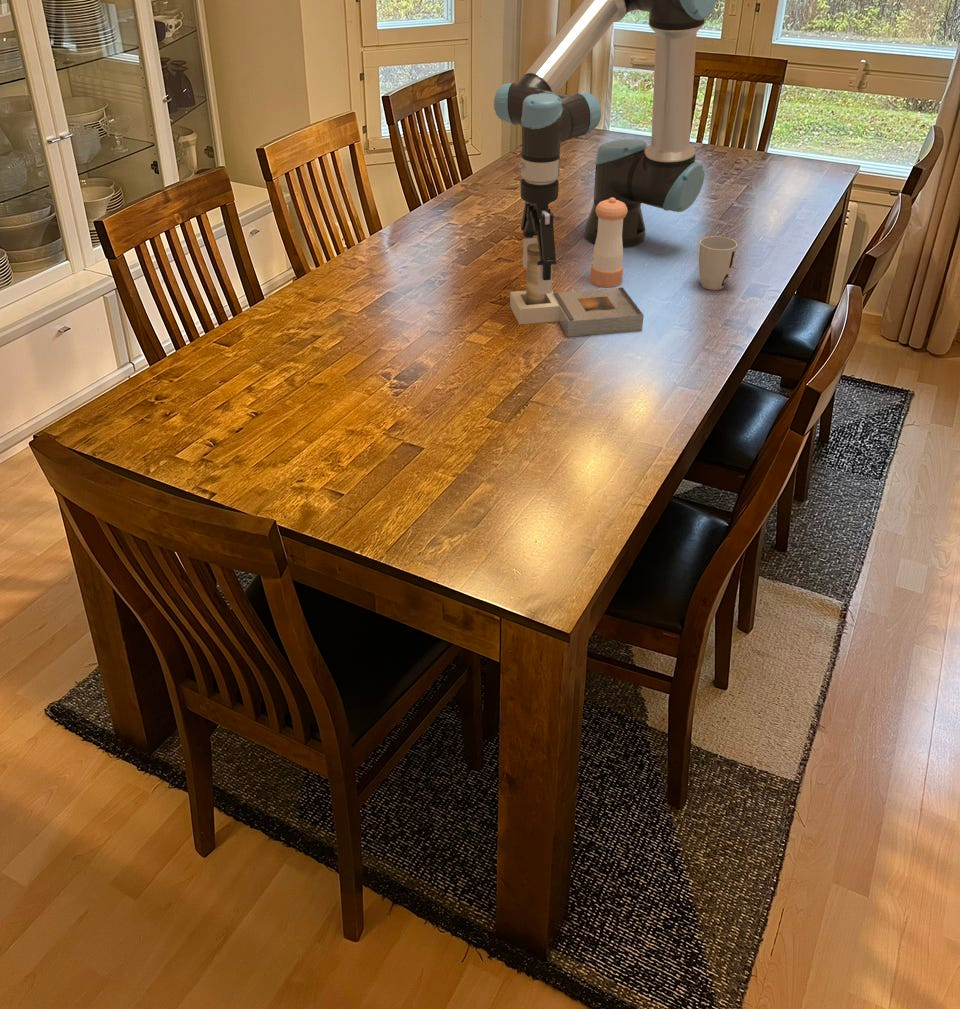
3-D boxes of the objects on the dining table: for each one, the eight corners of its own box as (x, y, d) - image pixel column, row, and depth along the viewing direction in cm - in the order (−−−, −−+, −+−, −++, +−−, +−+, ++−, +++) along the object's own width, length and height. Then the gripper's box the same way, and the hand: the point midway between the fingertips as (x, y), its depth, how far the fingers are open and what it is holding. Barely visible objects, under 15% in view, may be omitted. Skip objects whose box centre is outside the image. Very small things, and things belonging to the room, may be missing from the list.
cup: (730, 294, 222) (737, 251, 216) (693, 291, 223) (699, 248, 218) (730, 279, 228) (737, 237, 223) (694, 276, 230) (700, 234, 224)
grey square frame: (550, 308, 216) (551, 292, 214) (621, 302, 218) (623, 286, 216) (567, 337, 205) (568, 320, 203) (642, 330, 207) (643, 313, 205)
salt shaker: (626, 277, 229) (633, 195, 218) (616, 289, 224) (623, 205, 213) (596, 272, 232) (602, 190, 221) (585, 284, 227) (590, 200, 215)
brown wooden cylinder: (523, 310, 215) (525, 243, 206) (541, 309, 216) (544, 242, 207) (527, 318, 212) (529, 251, 203) (546, 317, 213) (549, 249, 204)
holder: (510, 306, 217) (510, 291, 215) (550, 303, 218) (551, 288, 216) (519, 324, 210) (519, 309, 208) (560, 321, 211) (561, 305, 209)
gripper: (508, 160, 206) (507, 258, 219) (536, 201, 186) (533, 306, 199) (543, 158, 207) (540, 255, 220) (574, 198, 188) (569, 303, 200)
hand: (537, 279), depth 209 cm, fingers open, 13 cm apart
